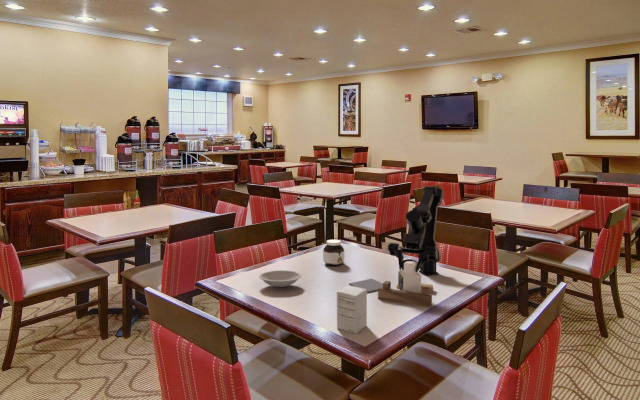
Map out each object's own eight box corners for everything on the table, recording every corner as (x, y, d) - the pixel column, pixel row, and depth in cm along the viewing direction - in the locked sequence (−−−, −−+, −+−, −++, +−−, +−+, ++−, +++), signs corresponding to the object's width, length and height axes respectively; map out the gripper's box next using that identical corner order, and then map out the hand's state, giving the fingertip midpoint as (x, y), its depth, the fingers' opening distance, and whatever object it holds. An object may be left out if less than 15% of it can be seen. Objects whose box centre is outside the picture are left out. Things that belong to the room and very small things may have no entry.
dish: (303, 281, 185) (303, 270, 184) (299, 293, 171) (299, 281, 170) (262, 281, 186) (262, 270, 185) (256, 292, 172) (255, 280, 171)
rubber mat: (371, 279, 187) (371, 278, 187) (389, 287, 177) (389, 286, 177) (348, 284, 181) (348, 283, 181) (366, 293, 171) (366, 291, 171)
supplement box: (347, 320, 145) (348, 284, 143) (367, 326, 141) (367, 288, 139) (336, 328, 139) (336, 291, 137) (356, 334, 135) (356, 295, 133)
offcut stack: (399, 285, 180) (399, 279, 180) (433, 290, 174) (433, 284, 173) (396, 288, 176) (396, 283, 175) (430, 294, 170) (431, 288, 169)
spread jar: (329, 267, 205) (328, 244, 203) (317, 262, 215) (317, 239, 213) (349, 264, 211) (350, 241, 209) (337, 258, 221) (337, 236, 219)
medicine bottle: (397, 287, 170) (398, 258, 168) (415, 287, 170) (416, 257, 169) (402, 294, 163) (403, 263, 161) (420, 293, 163) (421, 262, 162)
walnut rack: (381, 294, 169) (382, 280, 168) (433, 303, 160) (433, 287, 159) (378, 298, 165) (378, 283, 164) (430, 307, 156) (431, 291, 155)
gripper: (389, 222, 170) (379, 257, 162) (437, 226, 161) (429, 263, 153) (394, 238, 178) (386, 271, 170) (440, 242, 170) (433, 277, 161)
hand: (408, 270), depth 163 cm, fingers closed on medicine bottle, 6 cm apart
